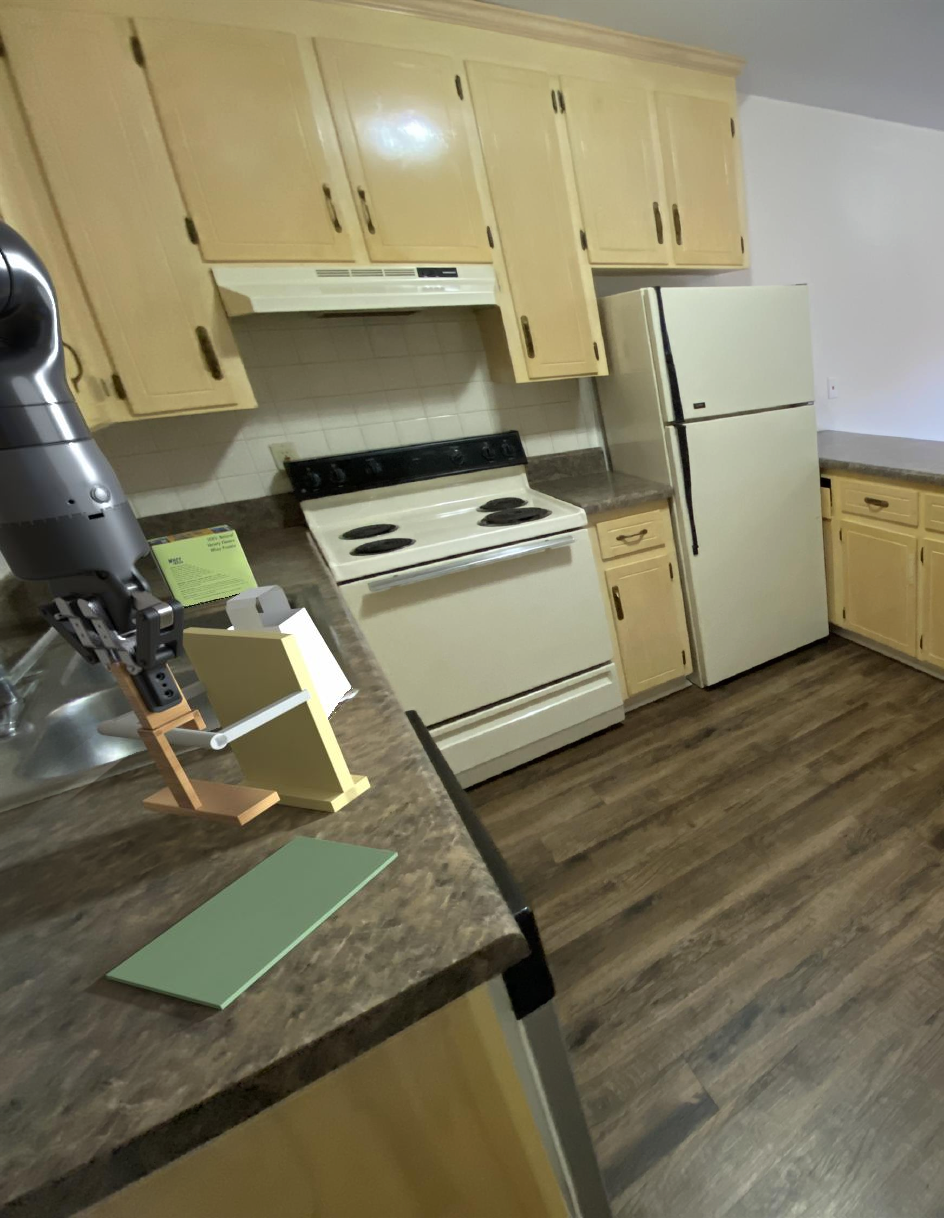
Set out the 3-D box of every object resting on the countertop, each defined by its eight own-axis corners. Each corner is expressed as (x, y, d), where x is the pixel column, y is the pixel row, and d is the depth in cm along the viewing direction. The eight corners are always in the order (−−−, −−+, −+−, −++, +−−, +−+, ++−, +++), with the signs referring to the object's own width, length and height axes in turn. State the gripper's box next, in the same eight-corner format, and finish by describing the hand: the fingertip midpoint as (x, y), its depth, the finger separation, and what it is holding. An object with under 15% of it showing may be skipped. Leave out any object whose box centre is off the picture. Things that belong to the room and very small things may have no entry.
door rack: (268, 863, 71) (180, 683, 63) (159, 843, 76) (64, 673, 67) (372, 787, 83) (310, 627, 75) (273, 773, 87) (204, 621, 79)
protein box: (260, 589, 164) (235, 529, 158) (179, 610, 153) (149, 546, 148) (250, 582, 171) (226, 524, 165) (172, 601, 160) (143, 539, 154)
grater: (245, 737, 97) (187, 611, 89) (282, 702, 106) (233, 585, 99) (324, 724, 99) (273, 600, 91) (354, 691, 108) (310, 576, 101)
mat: (107, 979, 59) (104, 975, 58) (299, 839, 75) (297, 835, 74) (222, 1010, 55) (219, 1006, 55) (398, 855, 71) (396, 852, 71)
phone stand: (241, 826, 57) (161, 671, 51) (145, 810, 60) (59, 662, 54) (280, 799, 60) (209, 651, 54) (187, 785, 63) (110, 644, 57)
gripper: (-70, 519, 48) (51, 724, 55) (53, 519, 44) (167, 738, 51) (61, 496, 55) (154, 680, 61) (177, 494, 51) (263, 690, 58)
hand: (160, 706), depth 56 cm, fingers closed on phone stand, 1 cm apart
